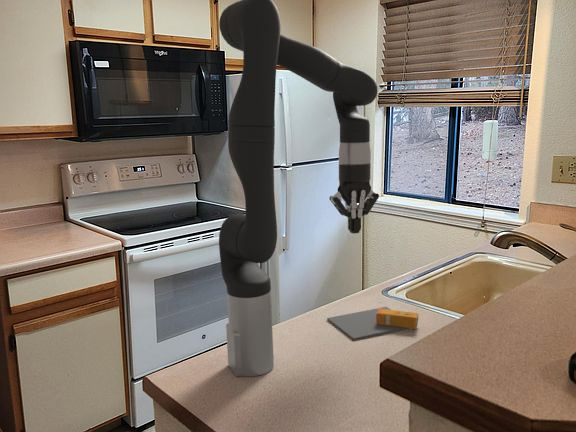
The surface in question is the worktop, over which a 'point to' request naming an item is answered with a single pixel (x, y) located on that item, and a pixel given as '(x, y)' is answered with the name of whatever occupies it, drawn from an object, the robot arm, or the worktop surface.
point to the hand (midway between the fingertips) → (354, 232)
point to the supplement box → (397, 318)
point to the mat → (362, 324)
